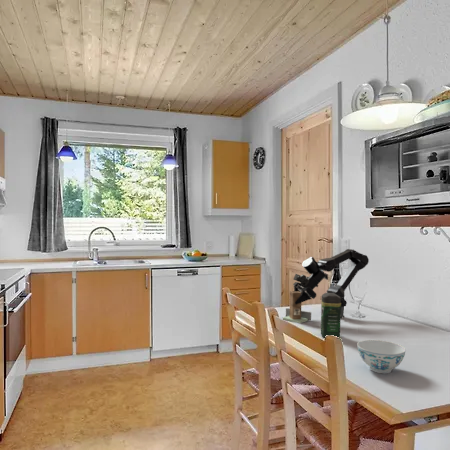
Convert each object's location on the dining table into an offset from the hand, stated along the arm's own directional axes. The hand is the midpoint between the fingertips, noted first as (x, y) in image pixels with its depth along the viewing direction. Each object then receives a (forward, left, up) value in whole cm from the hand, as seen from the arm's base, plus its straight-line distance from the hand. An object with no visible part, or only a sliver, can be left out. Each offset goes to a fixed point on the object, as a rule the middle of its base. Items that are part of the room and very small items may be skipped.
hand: (292, 302), depth 200 cm
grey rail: (0, -6, -9) cm, 11 cm away
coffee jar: (-27, +14, -9) cm, 32 cm away
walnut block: (-1, -1, -8) cm, 8 cm away
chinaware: (-57, +39, -9) cm, 69 cm away
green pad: (-1, -1, -9) cm, 9 cm away
